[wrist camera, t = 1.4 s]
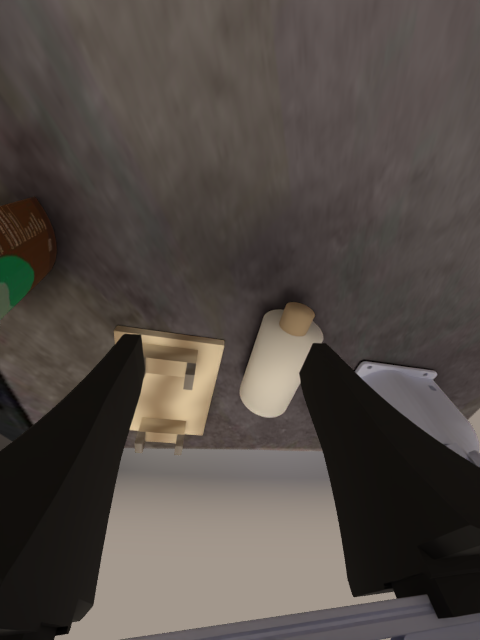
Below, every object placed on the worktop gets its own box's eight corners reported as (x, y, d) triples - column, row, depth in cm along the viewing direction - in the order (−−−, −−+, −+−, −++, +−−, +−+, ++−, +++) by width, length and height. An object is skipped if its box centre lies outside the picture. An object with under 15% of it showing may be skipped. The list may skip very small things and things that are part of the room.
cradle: (224, 340, 25) (224, 370, 21) (202, 429, 34) (200, 460, 30) (117, 325, 23) (99, 356, 20) (124, 423, 32) (113, 455, 29)
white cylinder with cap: (320, 298, 23) (342, 335, 18) (278, 387, 30) (287, 429, 25) (264, 289, 22) (274, 325, 17) (235, 383, 29) (237, 425, 24)
